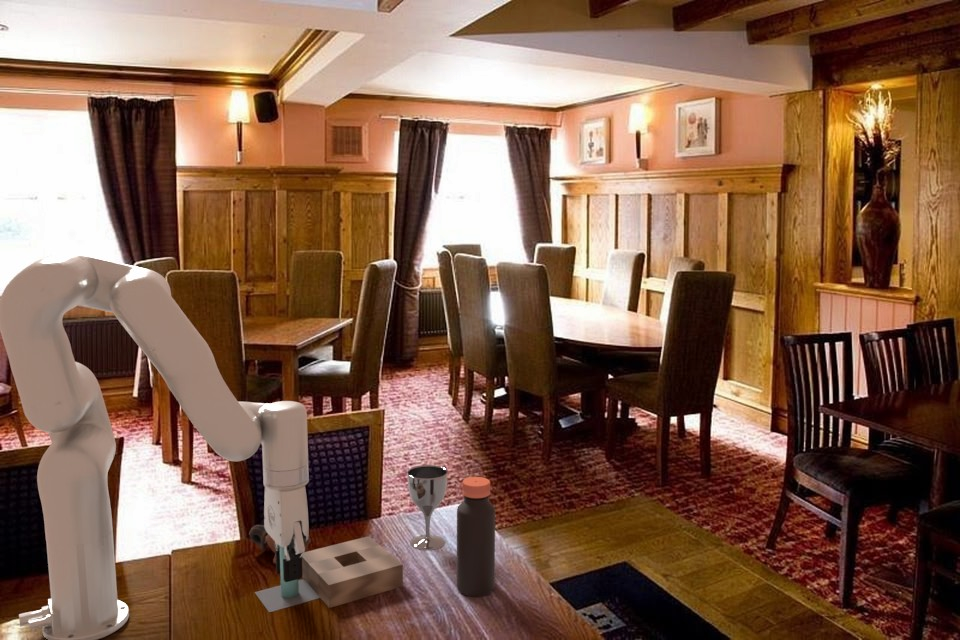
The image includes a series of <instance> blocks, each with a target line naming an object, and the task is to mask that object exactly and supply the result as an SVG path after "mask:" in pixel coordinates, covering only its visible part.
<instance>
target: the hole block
mask: <svg viewBox="0 0 960 640" xmlns="http://www.w3.org/2000/svg"><path fill="white" fill-rule="evenodd" d="M302 555H303V556H302V574H303V576H302V578H301V579H304V580H305V581H306V582H307V583H308V584H309V586H310V587H311V588H312V589H313V590H314V591H315V592H316V593H317V595H318V596H319V597H320V598H319V599H321V601H323V603H324V604H325V605H326V606H327V607H328V609H331V608H334V607H338V606H341V605H344V604H348V603H351V602H354V601H358V600H362V599H364V598H368V597H371V596H374V595H375V596H376V595H378V594H382V593H385V592H388V591H391V590H394V589H398V588H402V587H404V584H403V583H404V582H403V581H404V580H403V579H404V573H403V571H404V568H403V567H404V566H403V563H401V561H400V560H398V559H397V558H396V557H394V556H393V555H392V554H391V553H390V552H389V551H387V550H386V549H385V548H384V547H383V546H382V545H380V544H379V543H378V542H377V541H376V540H374V539H373V538H372V537H371V536H370V535H369V536H364V537H360V538H356V539H352V540H348V541H344V542H340V543H337V544H336V543H335V544H332V545H329V546H325V547H319V548H316V549H312V550H308V551H305V552H304V553H302Z"/></svg>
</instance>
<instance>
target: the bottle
mask: <svg viewBox="0 0 960 640" xmlns="http://www.w3.org/2000/svg"><path fill="white" fill-rule="evenodd" d="M461 486H462V488H461V489H462V491H461V492H462V493H461V494H462V497H463V499H464V500H463V501H462V502H461V503H459V505H458V506H457V508H456V589H457V590H458V592H460V593H461V594H463V595H464V596H469V597H484V596H486V595H489V594H491V593H492V592H493V591H494V590H495V576H496V574H495V573H496V572H495V568H496V567H495V560H496V559H495V558H496V553H495V552H496V551H495V550H496V549H495V547H496V508H495V506H494V505H493V504H492V502H490V500H489V498H490V496H491V480H490V479H488V478H486V477H482V476H471V477H467V478H465V479H463V480H462V485H461Z"/></svg>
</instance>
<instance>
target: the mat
mask: <svg viewBox="0 0 960 640" xmlns="http://www.w3.org/2000/svg"><path fill="white" fill-rule="evenodd" d="M298 584H299V594H298V596H296V597H294V598H283V597H282V596H281V584H280V585H277V586H272V587H269V588H265V589H262V590H259V591H255V592H254V594H255V595H256V596H257V598H258V599H259V601H260V602H261V604H262V605H263V606H264V607H265V609H266V610H267V611H268V613H273V612H276V611H280V610H283V609H286V608H290V607H294V606H297V605H301V604H304V603H307V602H310V601H314V600H318V599H321V598H320V597H319V596H318V595H317V593H316V592H315V591H314V590H313V589H312V588H311V587H310V586H309V584H308V583H307V582H306V581H305V580H304V579H303V578H301V579H298Z"/></svg>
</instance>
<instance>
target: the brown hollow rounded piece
mask: <svg viewBox="0 0 960 640" xmlns="http://www.w3.org/2000/svg"><path fill="white" fill-rule="evenodd" d="M248 535H249V538H250V540H251V541H252V542H253V543H254V544H255V545H257V546H258V547H259V548H260V550H261V551H262V553H264V552H265V550H267V547H268V548H269V549H270V550H271V551H272V552H273V553H274V556H273V559H272V563H273V564H275V565H276V551H279V550H276V548H275V541H274V540H273V539H272V538H271V536H270V535H269V534H268V533H267V532H266V530H265V527H264V524H255V525H253V526H251V528H250V530H249V532H248ZM311 542H312V540H311V538H310V535H309V536H308V540H307V541H306V542H304V547H305V551H306V550H307V548H308V547H309V544H310V543H311Z"/></svg>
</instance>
